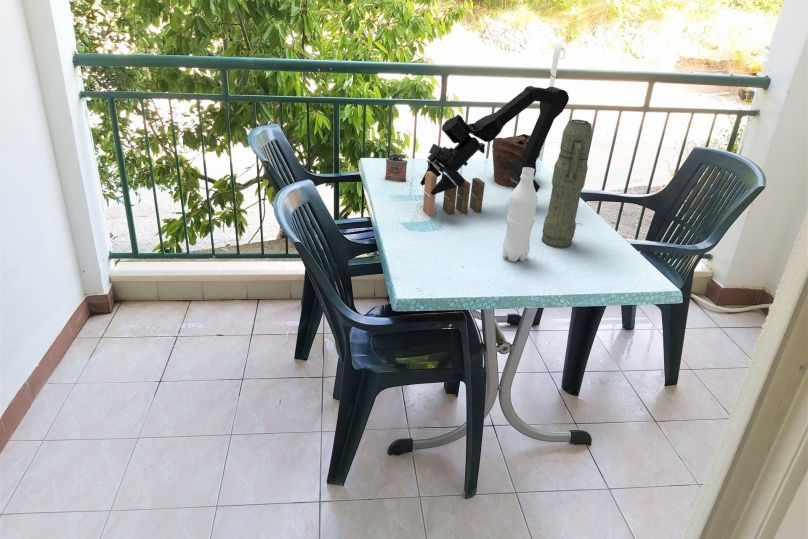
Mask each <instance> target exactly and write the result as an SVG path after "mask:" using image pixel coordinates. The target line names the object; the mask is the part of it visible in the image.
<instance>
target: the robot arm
mask: <svg viewBox="0 0 808 539" xmlns="http://www.w3.org/2000/svg"><path fill="white" fill-rule="evenodd" d="M569 100H570V97H569V94H568V91H566V90H565V89H562V88H560V87H555V86H548V87H547V88H545V87H538V86H536V87H535V86H532V85H528V86H526V87H525V88H524V89H523V90H522V91H521V92H520V93H518V94H517V95H516V96H515V97H513V98H512V99H511V100H509V101H508V102H507V103H506V104H504V105H503V106H502V107H500V108H499V109H498V110H496V111H495V112H494V113H490V114H487V115H484V116H483V117H480V119H478V120H476V121H475V122H474V123H473V122H472V123H468V124H467V122H466V121H465V120H464V118H463V117H462V116H461V115H460V114H456V115H455V116H453V117H451V118H448V119H447V120H445V122H444V123H443V124H442V126H441V130H442V132H443V133H444V134H445V135H446V136H447V137H448V138H449V140H450V141H451V142H452V144H457V145H455V147H449V148H448V147H446V146H443V147H442V146H439V145H438V144H436V143H432V145H431V147H430V149H429V151H428V154H429V155H428V157H427V158H426V159H427V160H426V161H427V162H426V163H427V169H426V171H431V172H433V173H434V174H435V175H436V176H437V178H438V177H440V176H441V178H440V180H439V181H438V182H437V184H436V186H435V187H434V188H433V190H432V191H431V194H432V195H435V194H436V195H437V194H441V193H444V191H446V190H449V189H452V188H458V187H461V186H462V185H463V184H464V182H465V180H466V178H464V177H463V175H462V174H461V173H460V172H459V170H460V169H461V168H463V166H465V167H466V166H468V165H469V163H468V161H469V160H470V159H471V158H472V157H473V156H474V155H475V154H476V153H477V152H480V153H481V154H486V152H485V151H486V150H485V148H486V144H485V143H490V142H493V140H494V139H495V138H497V137H498V136H499V134H500V133H501V132H502V130H503V128H504V126H506V124H508V123H509V122H511V120H513V119H514V118H516V116H518V115H519V114H520V113H522V112H523V111H525V110H526V109H527V108H528V107H529V106H530V105H533V103H535V102H539V115H538V117H537V119H536V123H535V125H534V127H533V129H532V131H531V134H530V138H529V141H528V143H527V146H526V148H525V150H524V153H523V155H522V157H521V158H519V159H518V160H515V159H514V160H513V162H512V166H511V167H510V169H509V171H510V173H509V176H510V179H511V180H512V183H513V185H514V186H516V187H517V185H518V184H519V182H520V180H521V178H520V176H521V174H522V170H523V168H524V167H530V168H533V169H534V179H533V185H534V188H535V191H536V193H538V191H539V189H540V188H541V186H540V185H539V183H537V181H536V180H535V178H536V174H537V160H538V159H539V158H538V156H539V154H540V155H541V151H542V149H543V147H544V144H545V142H546V139H547V137H548V136H549V132H550V131H551V128H552V125H553V124H554V122H555V119H556V118H558V116H560V115H561V114H562V113H563V112H564V110H565V108H566V106H567V105H568V103H569ZM471 135H472V136H471ZM478 139H479V140H482V141H483V142H484V143H483V142H480V141H479V140H478ZM539 157H540V156H539ZM537 158H538V159H537ZM425 175H426V172H425V173H424V175H423V177H422V179H421V181H420V183H419V184H420V185H421V186H425ZM456 185H457V186H456ZM516 187H514V189H515V188H516ZM436 195H435V196H436Z"/></svg>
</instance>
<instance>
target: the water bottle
mask: <svg viewBox="0 0 808 539" xmlns="http://www.w3.org/2000/svg"><path fill="white" fill-rule="evenodd" d="M520 178H521V180H520V182H519V184H518V185H517V187H516V188H515V187H514V189H513V191H512V192H511V195H510V197H509V203H508V204H509V205H508V211H507V216H506V233H505V237H504V240H503V241H502V249H501V250H502V254H503V257H504V258H505V259H508V261H510V262H517V261H518V260H519V261H520V262H523V261H525V260H526V259H527V257H528V256H529V254H530V249H531V245H530V241H531V239H530V238H531V233H532V229H533V226H534V224H535V217H536V212H537V211H536V210H537V206H538V201H539V200H538V199H539V198H538V194H537V192H536V191H535V188H534V185H533V179H534V180H535V178H534V169H533V168H530V167H524V168H523V170H522V174H521V176H520Z"/></svg>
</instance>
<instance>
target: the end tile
mask: <svg viewBox="0 0 808 539" xmlns="http://www.w3.org/2000/svg"><path fill="white" fill-rule="evenodd" d="M425 173H426V175H425V174H424V175H425V185H424V190H423V201H422V202H423V204H422V211H423V213H424V214H426V215H427V216H428V217H432V216H433V217H434V216H435V205H436V196H437V194H435V195H432V194H431V191H432V190H433V188H434V187H435V186H436V185H437V184H438V182H437V181H438V177H437V176H436V175H435V174H434V173H433V172H431V171H427V170H426V171H425Z"/></svg>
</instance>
